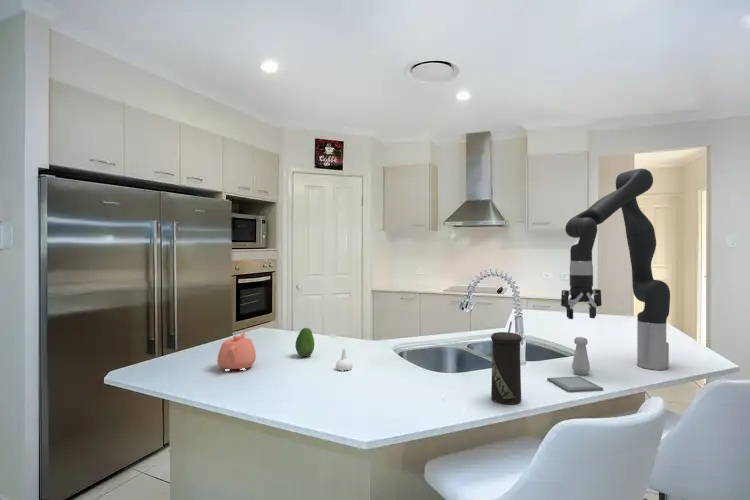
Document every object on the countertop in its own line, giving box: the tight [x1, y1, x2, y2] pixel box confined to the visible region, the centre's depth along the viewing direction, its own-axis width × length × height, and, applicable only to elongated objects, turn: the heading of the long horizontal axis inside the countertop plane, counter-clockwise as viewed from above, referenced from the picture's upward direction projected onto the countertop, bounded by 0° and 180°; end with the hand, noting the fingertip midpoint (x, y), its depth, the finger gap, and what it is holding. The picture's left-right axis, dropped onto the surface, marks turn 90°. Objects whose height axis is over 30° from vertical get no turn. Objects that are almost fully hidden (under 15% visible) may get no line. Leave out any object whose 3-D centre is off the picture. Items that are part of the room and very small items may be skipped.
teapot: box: [216, 331, 257, 370], centre depth 158 cm, size 13×20×12 cm, turn 5°
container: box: [490, 331, 523, 405], centre depth 124 cm, size 9×9×20 cm
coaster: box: [546, 375, 604, 393], centre depth 137 cm, size 12×12×1 cm
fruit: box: [294, 327, 315, 357], centre depth 173 cm, size 8×8×12 cm
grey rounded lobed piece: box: [571, 336, 591, 376], centre depth 149 cm, size 6×6×13 cm
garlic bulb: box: [335, 348, 354, 371], centre depth 155 cm, size 6×6×8 cm
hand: (581, 318), depth 149 cm, fingers open, 8 cm apart
